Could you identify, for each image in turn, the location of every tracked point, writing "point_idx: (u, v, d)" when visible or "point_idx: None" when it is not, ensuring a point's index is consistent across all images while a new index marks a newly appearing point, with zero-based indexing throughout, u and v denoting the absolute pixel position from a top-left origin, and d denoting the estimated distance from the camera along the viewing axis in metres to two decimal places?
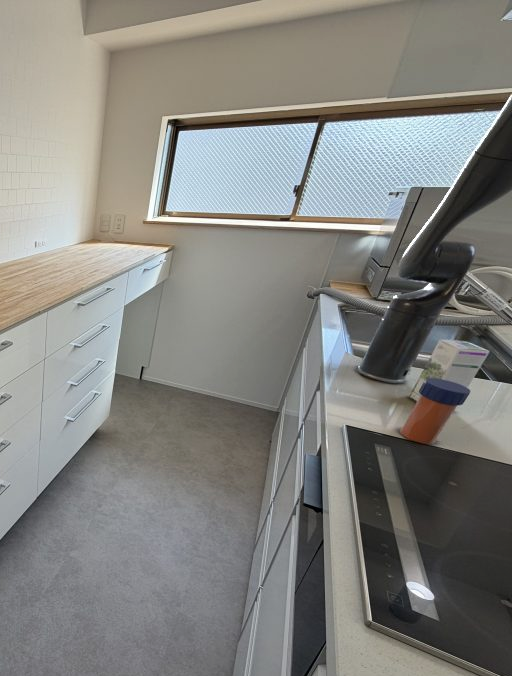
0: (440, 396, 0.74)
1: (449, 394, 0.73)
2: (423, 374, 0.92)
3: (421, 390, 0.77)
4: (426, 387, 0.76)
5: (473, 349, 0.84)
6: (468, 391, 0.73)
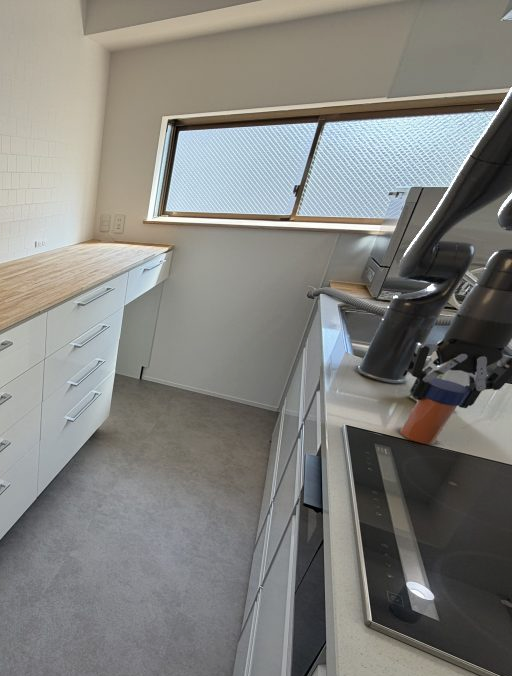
0: (440, 396, 0.74)
1: (449, 394, 0.73)
2: None
3: None
4: None
5: None
6: (468, 391, 0.73)
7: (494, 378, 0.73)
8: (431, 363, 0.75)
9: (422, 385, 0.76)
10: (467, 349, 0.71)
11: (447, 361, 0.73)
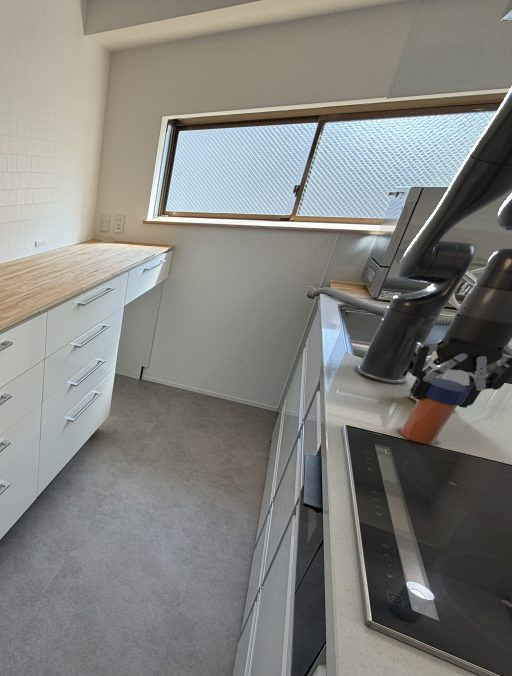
0: None
1: None
2: None
3: (450, 401, 0.73)
4: (460, 396, 0.73)
5: None
6: (449, 380, 0.77)
7: (494, 378, 0.73)
8: (431, 363, 0.75)
9: (422, 385, 0.76)
10: (467, 349, 0.71)
11: (447, 360, 0.73)
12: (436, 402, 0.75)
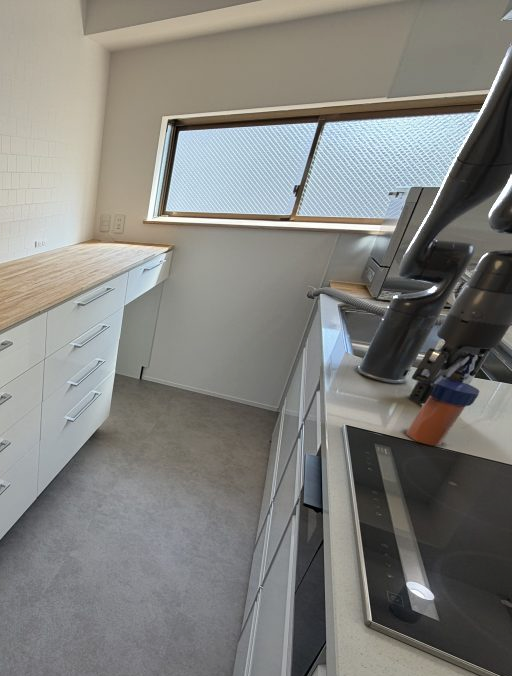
0: None
1: None
2: None
3: None
4: None
5: None
6: None
7: None
8: None
9: (426, 390, 0.74)
10: (465, 351, 0.71)
11: (453, 364, 0.71)
12: (444, 404, 0.74)
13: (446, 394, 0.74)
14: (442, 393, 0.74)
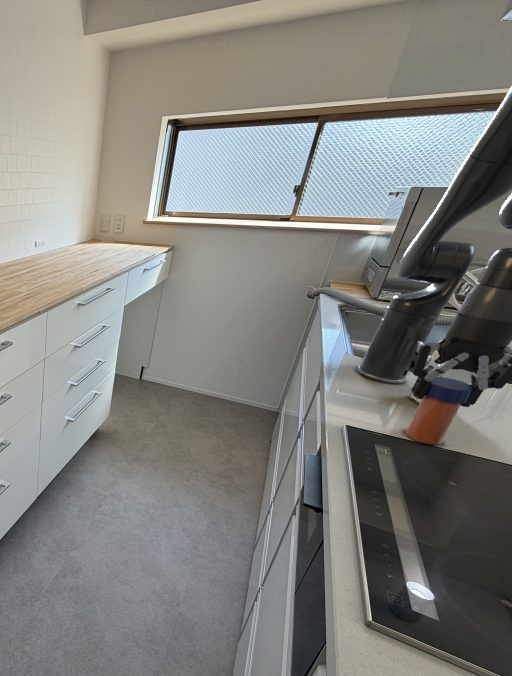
0: None
1: None
2: None
3: None
4: None
5: None
6: None
7: (496, 377, 0.72)
8: (432, 362, 0.75)
9: (423, 384, 0.76)
10: (469, 348, 0.71)
11: (449, 360, 0.72)
12: (440, 402, 0.75)
13: (437, 392, 0.74)
14: (433, 391, 0.75)
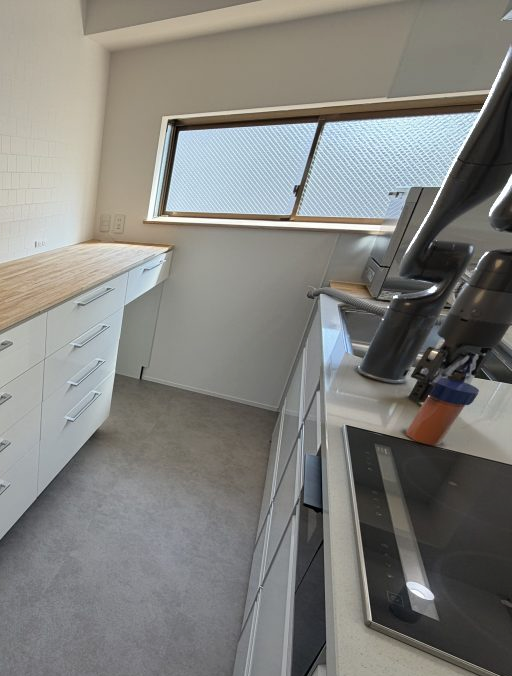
0: None
1: None
2: None
3: None
4: None
5: None
6: (456, 389, 0.72)
7: None
8: None
9: (425, 388, 0.74)
10: (465, 350, 0.71)
11: (453, 363, 0.71)
12: (444, 404, 0.74)
13: (474, 397, 0.73)
14: (472, 398, 0.72)
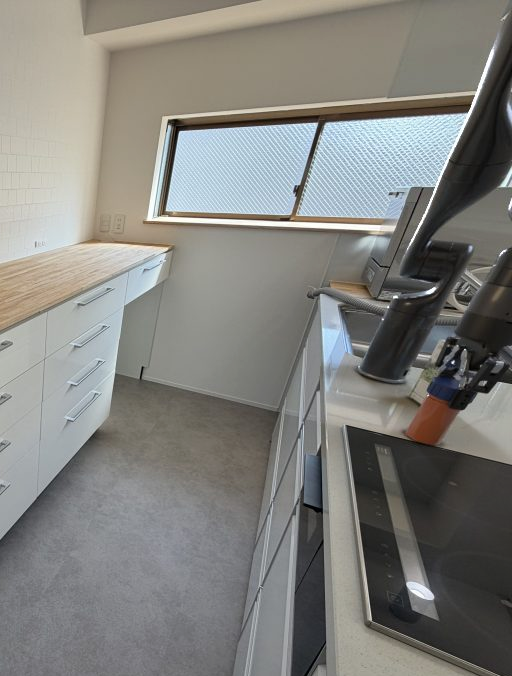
0: (451, 396, 0.73)
1: None
2: (423, 374, 0.92)
3: (429, 389, 0.76)
4: (436, 387, 0.75)
5: None
6: None
7: None
8: (468, 373, 0.70)
9: None
10: None
11: None
12: (443, 403, 0.75)
13: None
14: None
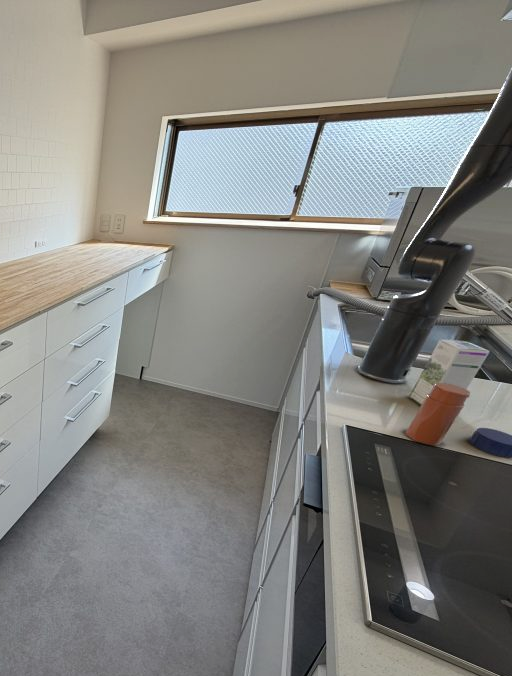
0: None
1: None
2: (423, 374, 0.92)
3: (502, 453, 0.75)
4: None
5: (473, 349, 0.84)
6: (500, 431, 0.78)
7: None
8: None
9: None
10: None
11: None
12: (443, 404, 0.74)
13: None
14: None
